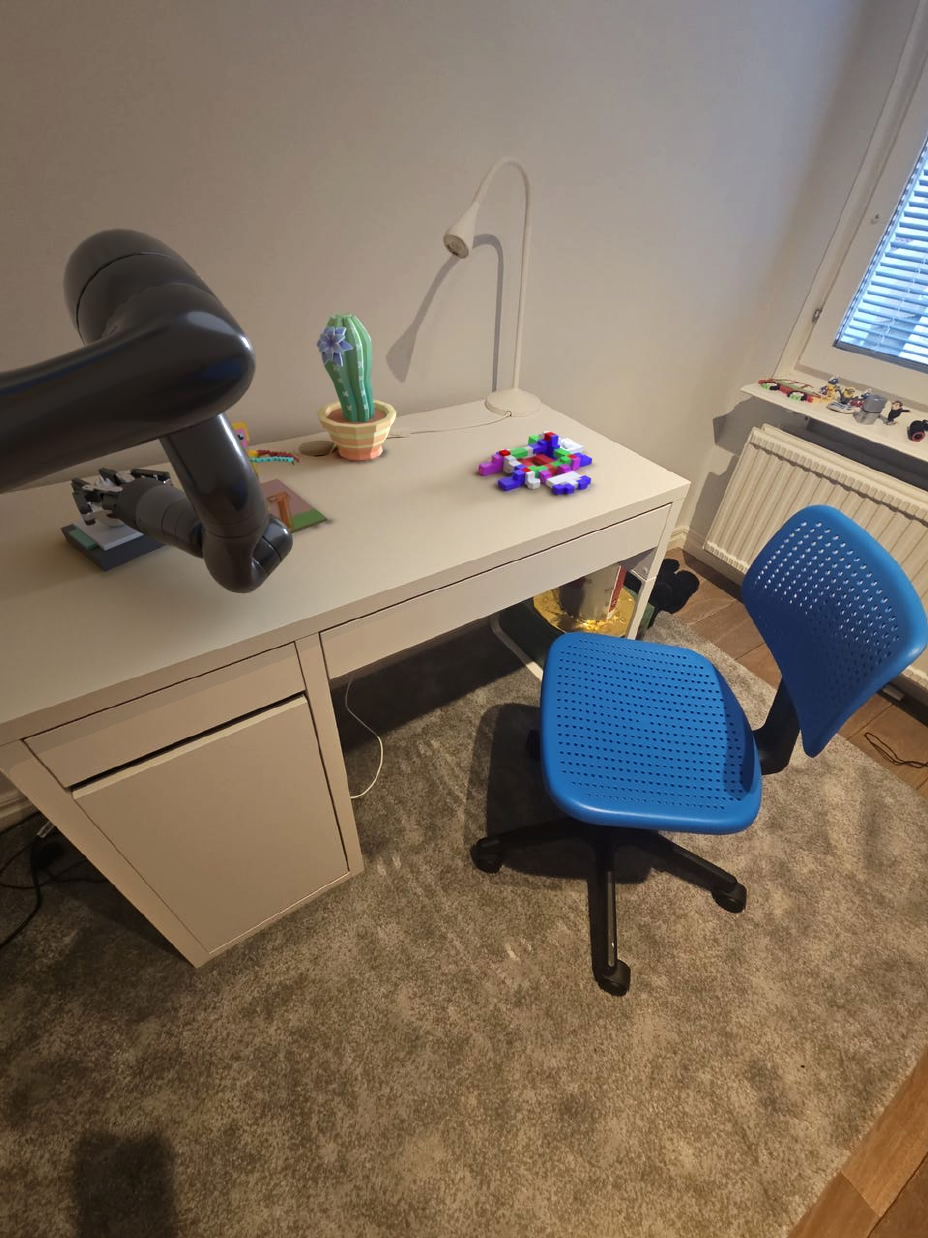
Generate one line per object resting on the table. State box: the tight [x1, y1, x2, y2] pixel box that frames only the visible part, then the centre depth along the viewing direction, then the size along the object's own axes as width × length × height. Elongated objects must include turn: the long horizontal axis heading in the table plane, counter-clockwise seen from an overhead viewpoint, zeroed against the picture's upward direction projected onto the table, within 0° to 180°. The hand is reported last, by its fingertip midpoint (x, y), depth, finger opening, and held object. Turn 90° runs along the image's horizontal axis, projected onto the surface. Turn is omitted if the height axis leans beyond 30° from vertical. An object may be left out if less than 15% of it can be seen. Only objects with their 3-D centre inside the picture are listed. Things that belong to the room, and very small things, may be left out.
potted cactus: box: [315, 312, 397, 461], centre depth 103 cm, size 15×15×25 cm
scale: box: [59, 517, 167, 572], centre depth 83 cm, size 12×12×3 cm
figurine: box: [231, 421, 328, 534], centre depth 87 cm, size 14×18×14 cm
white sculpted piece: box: [93, 474, 125, 527], centre depth 79 cm, size 5×7×8 cm
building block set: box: [477, 430, 593, 496], centre depth 106 cm, size 25×20×4 cm
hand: (89, 479), depth 79 cm, fingers open, 3 cm apart
